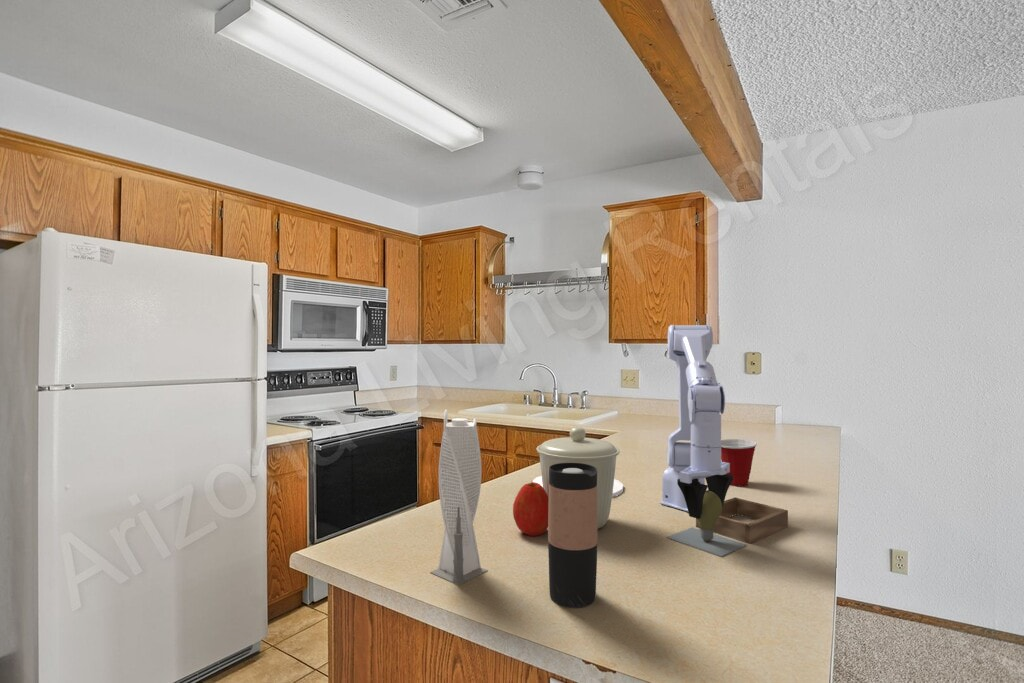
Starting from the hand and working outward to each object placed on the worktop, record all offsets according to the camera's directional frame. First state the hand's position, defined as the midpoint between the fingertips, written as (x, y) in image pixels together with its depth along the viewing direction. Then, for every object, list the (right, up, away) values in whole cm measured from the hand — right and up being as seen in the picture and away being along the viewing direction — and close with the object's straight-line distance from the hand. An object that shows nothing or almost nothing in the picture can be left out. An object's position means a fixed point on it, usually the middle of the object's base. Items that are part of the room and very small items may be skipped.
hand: (705, 513), depth 104 cm
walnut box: (+11, -6, +9) cm, 15 cm away
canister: (-24, -6, +10) cm, 27 cm away
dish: (-21, -6, +40) cm, 45 cm away
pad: (0, -6, 0) cm, 6 cm away
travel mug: (-29, -6, -23) cm, 37 cm away
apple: (-34, -6, +5) cm, 35 cm away
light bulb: (0, -6, 0) cm, 6 cm away
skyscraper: (-48, -6, -13) cm, 50 cm away
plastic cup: (+25, -6, +43) cm, 50 cm away
